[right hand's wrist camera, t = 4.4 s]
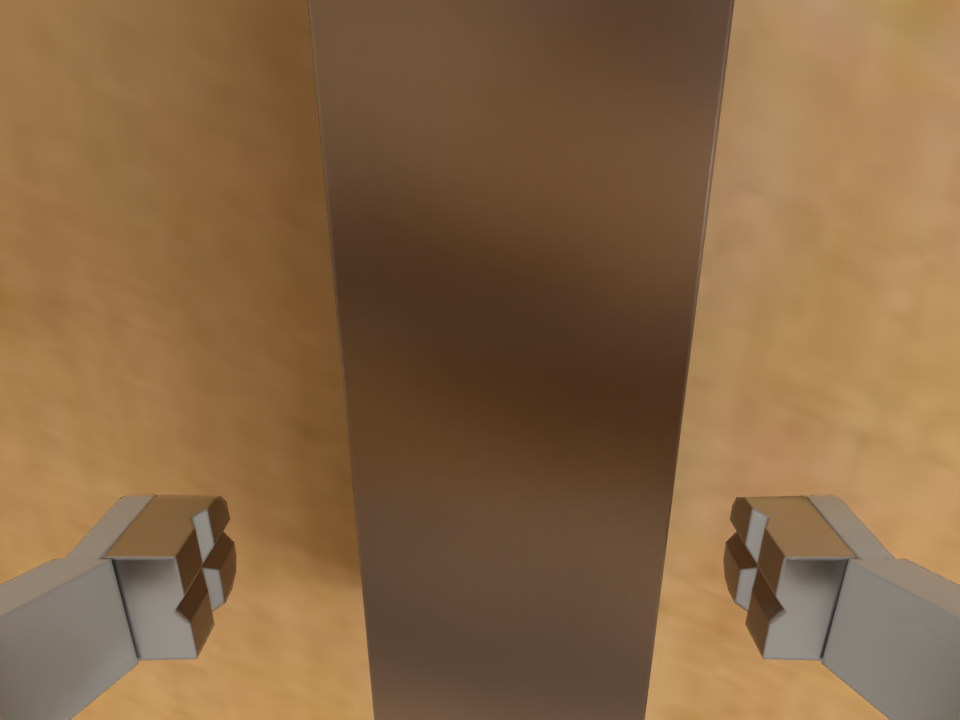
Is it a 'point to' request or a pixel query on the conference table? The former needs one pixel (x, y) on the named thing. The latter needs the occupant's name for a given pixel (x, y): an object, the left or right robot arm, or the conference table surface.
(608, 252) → the beam
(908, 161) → the conference table surface
